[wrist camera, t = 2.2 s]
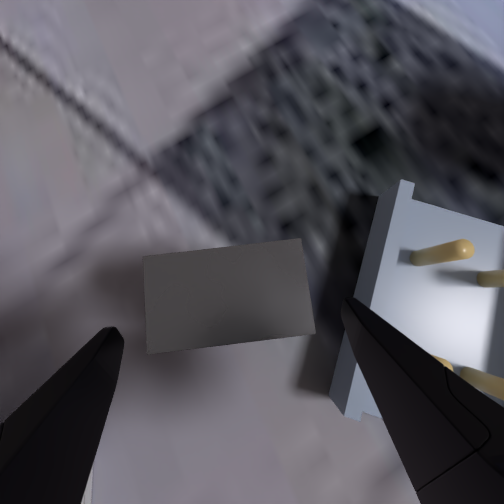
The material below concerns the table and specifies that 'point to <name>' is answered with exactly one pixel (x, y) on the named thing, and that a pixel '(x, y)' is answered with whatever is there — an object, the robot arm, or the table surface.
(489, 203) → the table surface
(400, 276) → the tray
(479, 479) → the robot arm
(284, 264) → the block
